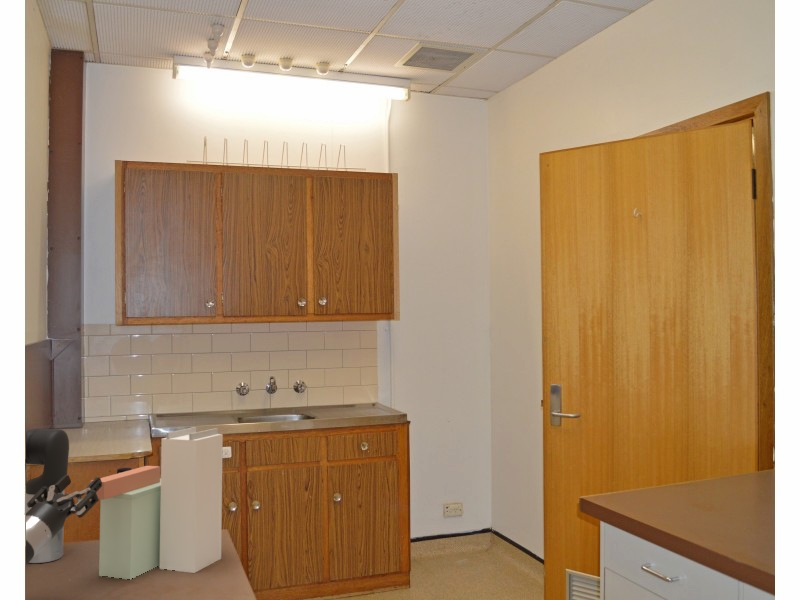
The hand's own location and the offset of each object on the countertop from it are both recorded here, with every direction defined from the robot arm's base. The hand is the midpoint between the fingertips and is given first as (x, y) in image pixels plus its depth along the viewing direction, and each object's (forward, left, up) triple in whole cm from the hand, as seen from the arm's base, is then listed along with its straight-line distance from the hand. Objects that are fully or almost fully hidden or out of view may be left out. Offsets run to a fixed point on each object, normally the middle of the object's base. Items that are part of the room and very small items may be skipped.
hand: (84, 479), depth 164 cm
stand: (+11, +26, -25) cm, 38 cm away
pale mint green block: (0, +21, -25) cm, 33 cm away
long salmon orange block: (0, +15, -5) cm, 16 cm away
